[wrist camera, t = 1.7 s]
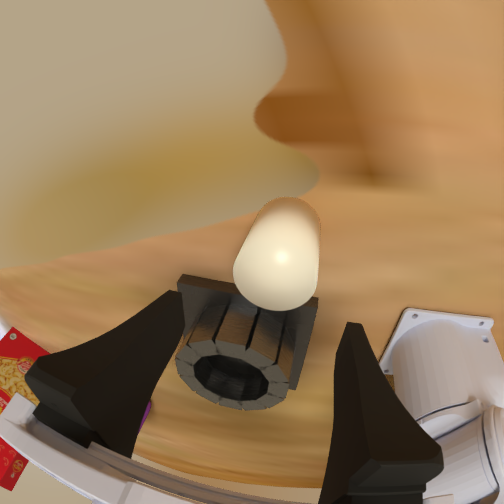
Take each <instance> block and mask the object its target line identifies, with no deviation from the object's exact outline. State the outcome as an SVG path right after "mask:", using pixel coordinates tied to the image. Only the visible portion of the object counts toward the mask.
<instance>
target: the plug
mask: <svg viewBox="0 0 504 504" xmlns="http://www.w3.org/2000/svg"><path fill="white" fill-rule="evenodd" d="M320 231H321V225H320V220H319V217H318V215H317V213H316V212H315V210H314V209H313V208H312V207H311V206H310V205H309V204H308V203H306V202H304V201H302V200H300V199H298V198H294V197H279V198H276V199H273V200H271V201H269V202H268V203H266V204H265V205H264V206H263V207H262V209H261V210H260V212H259V214H258V216H257V218H256V220H255V222H254V224H253V226H252V228H251V230H250V232H249V234H248V236H247V238H246V240H245V242H244V244H243V246H242V248H241V250H240V252H239V254H238V256H237V258H236V260H235V263H234V266H233V277H234V281H235V284H236V286H237V288H238V290H239V291H240V293H241V294H242V295H243V296H244V297H245V298H246V299H247V300H249V301H250V302H251V303H253V304H255V305H257V306H259V307H261V308H264V309H268V310H274V311H286V310H291V309H294V308H297V307H299V306H301V305H303V304H304V303H306V302H307V301H308V300H309V299H310V298H311V297H312V295H313V294H314V292H315V289H316V286H317V279H318V265H319V249H320Z"/></svg>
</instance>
